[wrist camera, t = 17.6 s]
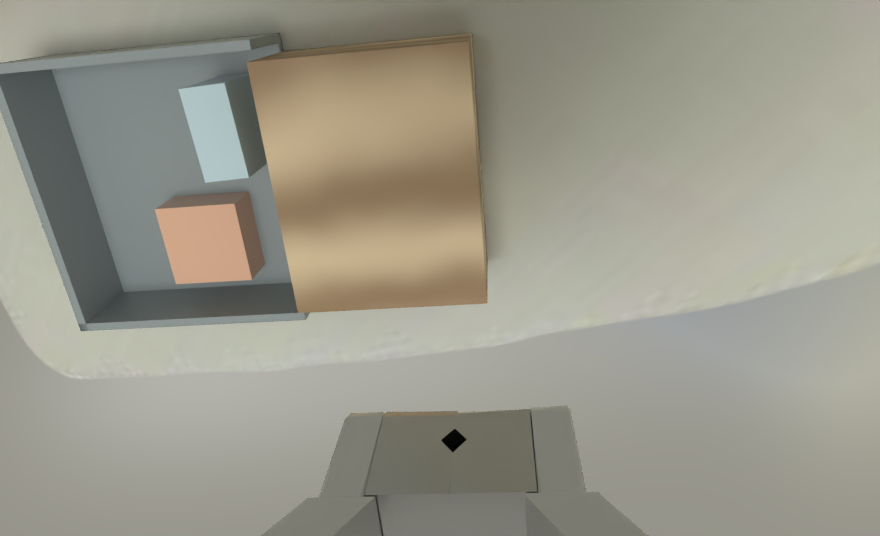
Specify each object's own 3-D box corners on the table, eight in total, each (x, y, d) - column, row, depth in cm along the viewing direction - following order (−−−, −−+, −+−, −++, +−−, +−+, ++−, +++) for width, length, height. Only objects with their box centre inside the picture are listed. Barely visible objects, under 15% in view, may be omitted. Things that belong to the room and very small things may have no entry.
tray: (44, 56, 38) (-16, 65, 33) (279, 33, 36) (249, 39, 32) (123, 295, 44) (81, 331, 40) (325, 284, 43) (305, 319, 38)
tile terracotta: (234, 203, 38) (248, 191, 40) (154, 209, 38) (173, 196, 40) (252, 279, 40) (265, 264, 42) (176, 284, 40) (192, 268, 42)
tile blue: (257, 71, 37) (216, 76, 37) (224, 82, 32) (178, 89, 33) (277, 155, 39) (238, 160, 39) (249, 177, 34) (205, 182, 35)
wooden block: (282, 51, 37) (246, 62, 31) (471, 33, 36) (468, 41, 30) (322, 270, 42) (298, 312, 37) (487, 261, 41) (487, 303, 36)
